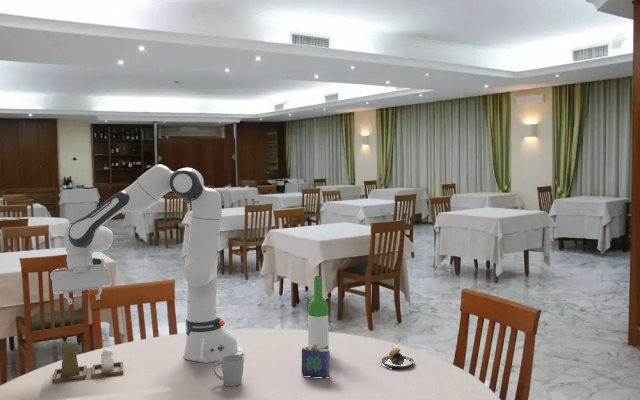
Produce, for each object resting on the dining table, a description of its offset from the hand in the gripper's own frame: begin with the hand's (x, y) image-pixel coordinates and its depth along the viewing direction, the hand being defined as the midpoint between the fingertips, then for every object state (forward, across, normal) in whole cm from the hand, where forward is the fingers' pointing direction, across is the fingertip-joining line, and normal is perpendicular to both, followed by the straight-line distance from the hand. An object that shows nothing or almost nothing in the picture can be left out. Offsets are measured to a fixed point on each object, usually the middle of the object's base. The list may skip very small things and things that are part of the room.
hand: (84, 301), depth 214 cm
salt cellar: (+27, +5, -5) cm, 28 cm away
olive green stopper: (+26, -7, -4) cm, 27 cm away
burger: (+49, +102, -27) cm, 116 cm away
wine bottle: (+37, +80, -8) cm, 89 cm away
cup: (+42, +42, -24) cm, 64 cm away
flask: (+46, +70, -28) cm, 88 cm away
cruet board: (+28, -1, -4) cm, 28 cm away
